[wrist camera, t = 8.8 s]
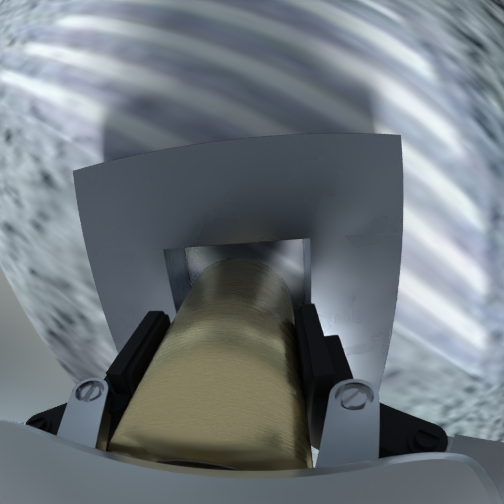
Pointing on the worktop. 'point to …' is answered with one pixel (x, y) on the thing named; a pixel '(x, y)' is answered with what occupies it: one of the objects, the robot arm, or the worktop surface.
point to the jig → (254, 227)
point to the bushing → (224, 380)
